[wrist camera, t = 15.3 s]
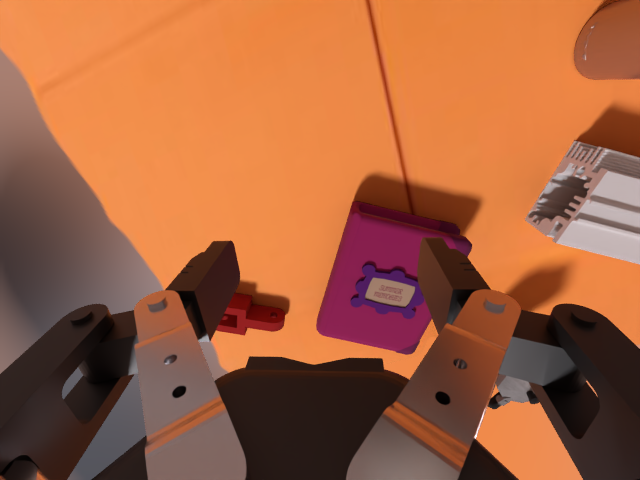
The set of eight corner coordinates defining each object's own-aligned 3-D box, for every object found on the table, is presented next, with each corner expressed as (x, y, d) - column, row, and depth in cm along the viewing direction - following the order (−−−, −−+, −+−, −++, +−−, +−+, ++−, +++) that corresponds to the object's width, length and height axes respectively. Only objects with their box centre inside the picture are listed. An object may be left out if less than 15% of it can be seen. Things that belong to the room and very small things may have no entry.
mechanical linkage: (216, 313, 69) (208, 329, 64) (216, 289, 65) (207, 304, 61) (284, 324, 69) (280, 340, 65) (287, 300, 66) (284, 316, 61)
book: (317, 311, 67) (315, 336, 60) (351, 198, 54) (353, 214, 47) (405, 331, 68) (413, 358, 61) (460, 224, 55) (477, 244, 48)
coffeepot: (497, 295, 61) (552, 369, 46) (527, 316, 64) (590, 394, 48) (443, 338, 68) (474, 415, 52) (472, 356, 70) (510, 436, 54)
